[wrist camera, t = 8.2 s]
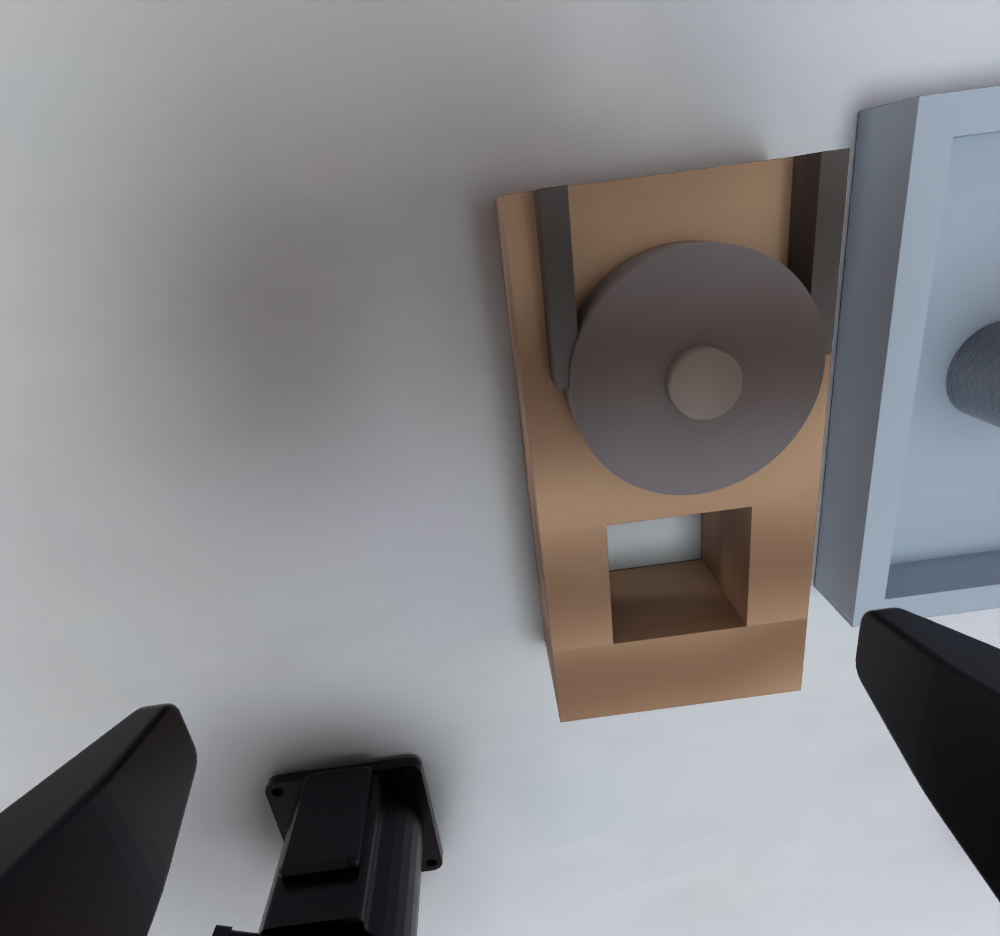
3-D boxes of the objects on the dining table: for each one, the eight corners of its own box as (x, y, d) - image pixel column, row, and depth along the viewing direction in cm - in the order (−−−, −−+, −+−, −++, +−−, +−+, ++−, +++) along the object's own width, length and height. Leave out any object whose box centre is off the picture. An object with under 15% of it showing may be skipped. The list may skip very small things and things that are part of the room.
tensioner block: (749, 616, 24) (836, 740, 18) (545, 643, 24) (570, 776, 18) (769, 162, 18) (911, 139, 12) (495, 198, 18) (509, 191, 12)
